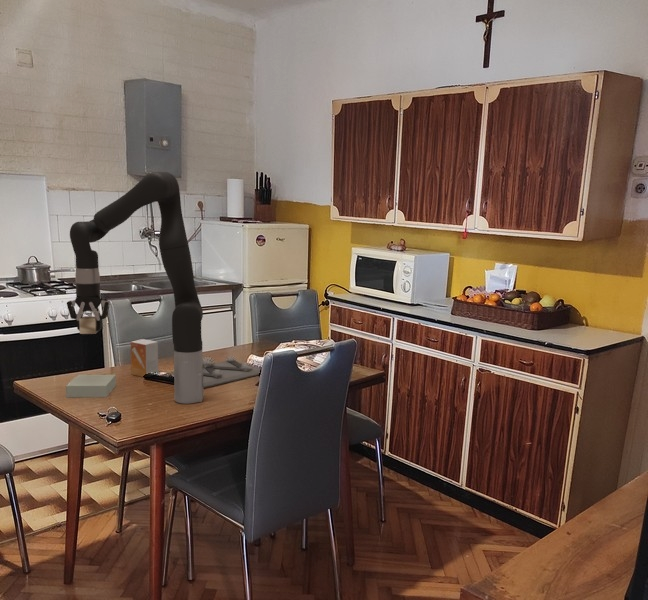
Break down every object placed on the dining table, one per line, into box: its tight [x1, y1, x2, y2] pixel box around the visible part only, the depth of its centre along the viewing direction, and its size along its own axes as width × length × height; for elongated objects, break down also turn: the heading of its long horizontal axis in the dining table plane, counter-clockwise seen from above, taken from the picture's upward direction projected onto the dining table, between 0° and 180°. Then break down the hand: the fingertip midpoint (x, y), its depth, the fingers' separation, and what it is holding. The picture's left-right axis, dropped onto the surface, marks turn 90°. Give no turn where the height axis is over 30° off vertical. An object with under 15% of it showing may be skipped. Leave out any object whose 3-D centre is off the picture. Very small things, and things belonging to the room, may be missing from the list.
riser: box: [65, 374, 117, 398], centre depth 200 cm, size 13×13×4 cm
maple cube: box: [79, 315, 99, 335], centre depth 197 cm, size 5×5×5 cm
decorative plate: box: [170, 355, 261, 390], centre depth 223 cm, size 30×22×7 cm
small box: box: [130, 338, 159, 378], centre depth 221 cm, size 8×6×13 cm
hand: (89, 330), depth 197 cm, fingers closed on maple cube, 5 cm apart
